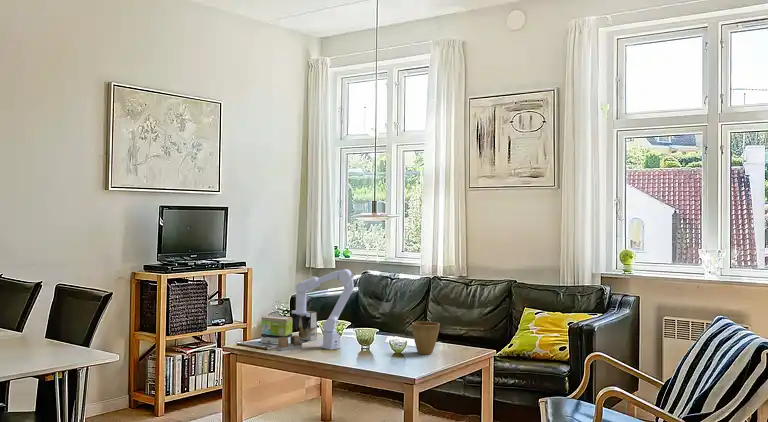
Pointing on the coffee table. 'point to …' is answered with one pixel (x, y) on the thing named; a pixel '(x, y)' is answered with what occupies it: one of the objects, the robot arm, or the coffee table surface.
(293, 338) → the block
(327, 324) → the robot arm
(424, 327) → the plant pot
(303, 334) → the coffee box
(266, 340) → the tea box
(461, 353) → the coffee table surface
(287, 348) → the rail
